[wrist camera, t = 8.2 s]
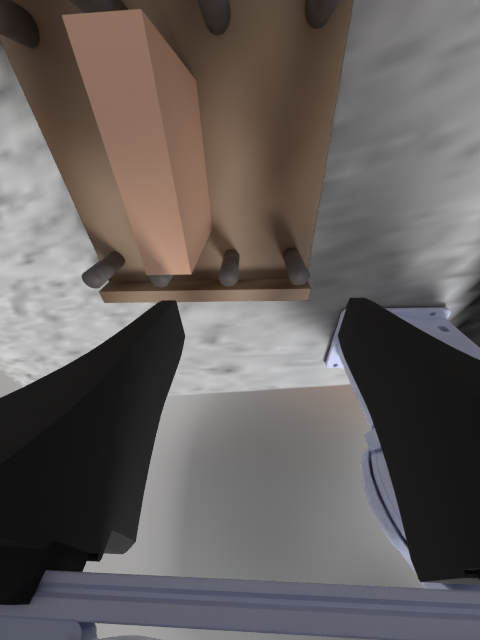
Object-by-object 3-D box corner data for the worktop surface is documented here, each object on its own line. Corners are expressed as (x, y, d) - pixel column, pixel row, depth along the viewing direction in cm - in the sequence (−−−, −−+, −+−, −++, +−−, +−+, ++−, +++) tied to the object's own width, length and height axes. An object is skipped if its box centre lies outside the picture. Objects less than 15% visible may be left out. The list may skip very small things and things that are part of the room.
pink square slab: (196, 80, 11) (140, 8, 5) (212, 228, 15) (191, 274, 10) (156, 82, 11) (61, 14, 5) (183, 229, 15) (146, 275, 10)
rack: (363, -112, 8) (451, -312, 5) (301, 283, 19) (314, 315, 15) (-31, -74, 9) (-215, -221, 5) (121, 286, 20) (92, 317, 16)
